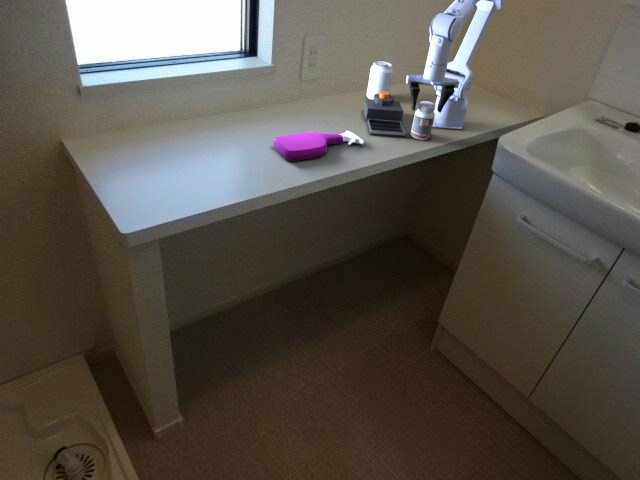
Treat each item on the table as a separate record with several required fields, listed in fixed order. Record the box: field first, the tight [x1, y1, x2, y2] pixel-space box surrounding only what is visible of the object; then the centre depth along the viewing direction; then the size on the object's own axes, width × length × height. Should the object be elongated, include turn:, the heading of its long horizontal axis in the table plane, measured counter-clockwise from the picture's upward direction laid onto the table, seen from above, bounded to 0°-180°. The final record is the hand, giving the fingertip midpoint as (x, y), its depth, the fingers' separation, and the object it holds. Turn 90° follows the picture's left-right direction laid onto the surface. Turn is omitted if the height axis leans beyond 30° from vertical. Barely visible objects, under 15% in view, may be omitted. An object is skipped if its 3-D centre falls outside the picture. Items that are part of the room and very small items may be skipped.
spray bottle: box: [272, 130, 365, 162], centre depth 131 cm, size 3×11×24 cm
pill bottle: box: [410, 100, 436, 141], centre depth 141 cm, size 6×6×10 cm
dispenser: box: [363, 93, 404, 122], centre depth 152 cm, size 11×9×6 cm
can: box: [366, 60, 394, 99], centre depth 162 cm, size 8×8×12 cm
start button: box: [379, 91, 391, 99], centre depth 151 cm, size 3×3×2 cm
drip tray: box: [366, 119, 407, 138], centre depth 145 cm, size 10×9×1 cm
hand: (425, 110), depth 139 cm, fingers open, 7 cm apart
